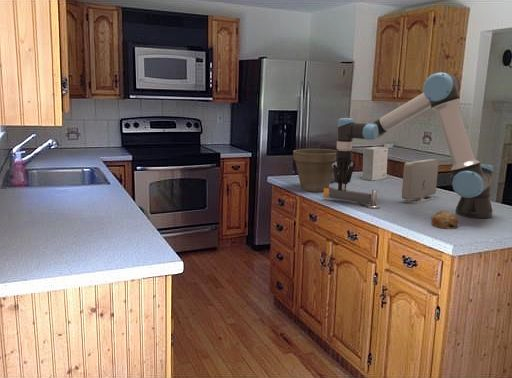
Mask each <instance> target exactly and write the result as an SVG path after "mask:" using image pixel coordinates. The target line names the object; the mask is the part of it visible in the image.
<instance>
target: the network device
mask: <svg viewBox="0 0 512 378" xmlns="http://www.w3.org/2000/svg"><path fill="white" fill-rule="evenodd" d="M439 163H440V162H439V159H434V158H427V159H422V160H421V159H420V160H415V161H414V160H413V161H407V162H405V163H404V165H403V174H402V175H403V177H402V187H401V198H402V202H405V203H409V204H410V203H411V204H421V203H425V202H429V201H433V200H434V199H435V197H433V196H432V195H436V192H437V185H438V184H437V183H438V175H439V165H440V164H439ZM426 198H427V199H426ZM413 200H415V201H413Z"/></svg>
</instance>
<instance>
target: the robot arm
mask: <svg viewBox="0 0 512 378" xmlns="http://www.w3.org/2000/svg"><path fill="white" fill-rule="evenodd" d="M460 91H461V81H460V79H459V78H458V77H457V76H456V75H454V74H451V73H446V72H441V71H440V72H435V73H432V74H430V75H429V76H428V77H427V78H426V79H425V81H424V82H423V88H422V93H420V94H418V95H416V97H413V98H412V99H410V100H409V101H407V102H405V103H404V104H402V105H400V106H398V107H396V108H395V109H394V110H392V111H390V112H388V113H386V114H385V115H383V116H381V117H379V118H378V119H376V120H374V121H372V122H364V123H362V122H355V121H354V119H353V118H350V117H341V118H339V119H338V120H337V126H336V127H337V134H336V135H337V136H336V137H337V138H336V161H335V163H334V164H331V166H332V168H333V173H334V179H335V182H334V183H336V184H337V187H338V188H337V189H341V190H347V185H348V184H349V183H351V180H352V175H353V172H354V169H355V167H356V163H354V162H352V154H353V151H352V150H353V140H354V139H355V140H356V139H357V140H359V139H360V140H366V141H372V140H373V141H374V140H376V139H377V138H380V137H382V136H384V135H385V134H386V133H388V132H389V131H391V130H393V129H395V128H396V127H398V126H400V125H402V124H404V123H405V122H407V121H409V120H411V119H413V118H414V117H416V116H418V115H420V114H422V113H423V112H425V111H427V110H429V109H430V108H431V110H433V111H435V112H436V113H437V114H436V115H437V117H438V120H439V123H440V127H441V130H442V133H443V136H444V140H445V143H446V146H447V150H448V152H449V156H450V159H451V162H452V167H451V169H450V172H451V174H452V175H451V176H452V184H451V185H452V189H453V190H454V193H455V194H457V196H460V198H459V201H458V203H457V204H456V206H455V214H457V215H459V216H461V217H467V218H470V219H471V218H474V219H490V218H492V217H493V208H492V203H491V193H492V192H491V191H492V181H493V174H494V167H493V165H490V164H482V163H481V161H479V160H478V159H475V156H474V154H473V150H472V147H471V143H470V140H469V138H468V134H467V130H466V128H465V124H464V120H463V117H462V114H461V111H460V109H459V103H460V100H461V98H460Z"/></svg>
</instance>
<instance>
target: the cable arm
mask: <svg viewBox="0 0 512 378" xmlns="http://www.w3.org/2000/svg"><path fill="white" fill-rule="evenodd" d="M323 198H330V199H334V200H335V199H336V200H341V201H342V200H343V201H348V202H353V203H354V202H355V203H358V202H360V203H366V204H365V205H368V204H370V203H371V200H372V193H370V192H369V193H368V192H362V191H354V190H348V189H346V190H341V189H338V188H333V187H330V186H329V187H325V188H324V191H323ZM360 203H359V204H360Z"/></svg>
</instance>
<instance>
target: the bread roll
mask: <svg viewBox="0 0 512 378" xmlns="http://www.w3.org/2000/svg"><path fill="white" fill-rule="evenodd" d="M430 220H431V225H432V226H433V225H434V226H433V227H435V226H436V228H438V229H446V230H450V229H451V230H452V229H456V228H457V227H458V226H459V220H458V218H457V216H456V215H455V214H454V213H453V212H450V211H446V210H442V211H439V212H437V213H435V214H433V216H432V217H431V219H430Z"/></svg>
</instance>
